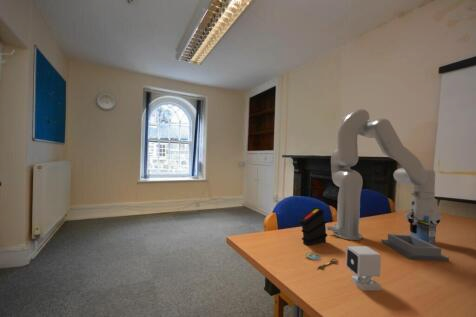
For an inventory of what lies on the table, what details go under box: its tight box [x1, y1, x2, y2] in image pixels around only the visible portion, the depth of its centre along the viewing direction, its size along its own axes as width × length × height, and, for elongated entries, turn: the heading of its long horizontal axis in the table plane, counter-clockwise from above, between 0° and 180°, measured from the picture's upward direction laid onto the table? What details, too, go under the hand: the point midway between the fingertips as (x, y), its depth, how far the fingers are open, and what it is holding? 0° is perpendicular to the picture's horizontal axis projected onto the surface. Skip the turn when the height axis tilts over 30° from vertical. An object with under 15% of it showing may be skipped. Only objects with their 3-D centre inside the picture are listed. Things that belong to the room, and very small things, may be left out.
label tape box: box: [410, 216, 436, 245], centre depth 103 cm, size 9×4×12 cm, turn 9°
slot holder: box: [381, 233, 450, 262], centre depth 90 cm, size 14×17×4 cm
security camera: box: [345, 245, 382, 292], centre depth 63 cm, size 6×7×10 cm
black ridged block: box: [298, 206, 328, 247], centre depth 95 cm, size 4×13×15 cm, turn 118°
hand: (422, 232), depth 103 cm, fingers open, 7 cm apart
